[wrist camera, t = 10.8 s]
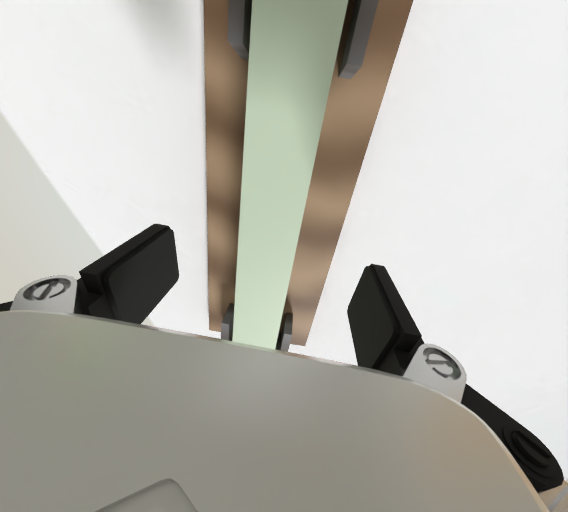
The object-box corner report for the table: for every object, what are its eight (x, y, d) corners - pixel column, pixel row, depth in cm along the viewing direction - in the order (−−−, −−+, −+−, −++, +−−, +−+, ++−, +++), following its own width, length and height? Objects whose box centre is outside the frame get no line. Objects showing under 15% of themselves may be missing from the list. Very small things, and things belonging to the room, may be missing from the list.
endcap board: (212, -52, 13) (173, -134, 9) (410, -12, 13) (457, -77, 9) (213, 320, 28) (199, 351, 24) (304, 336, 28) (305, 368, 24)
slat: (271, 6, 13) (255, -63, 8) (338, 18, 13) (357, -43, 8) (243, 320, 25) (231, 358, 21) (276, 326, 25) (271, 365, 21)
